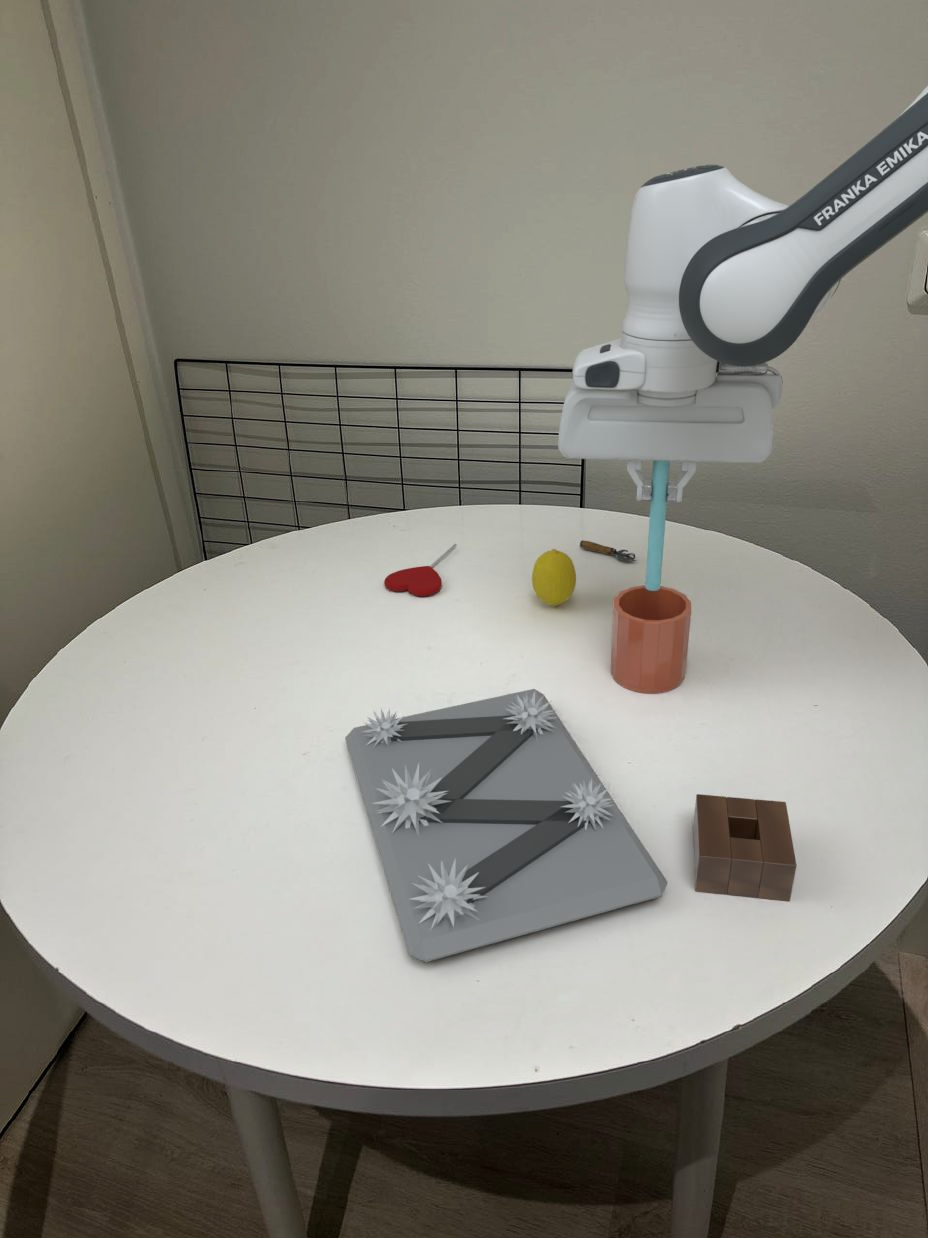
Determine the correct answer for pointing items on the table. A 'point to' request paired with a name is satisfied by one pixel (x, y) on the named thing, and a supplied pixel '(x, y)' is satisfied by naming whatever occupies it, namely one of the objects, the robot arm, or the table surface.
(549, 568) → the lemon
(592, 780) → the decorative plate
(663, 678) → the cup
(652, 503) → the straw
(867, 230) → the robot arm
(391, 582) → the lollipop
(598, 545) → the can opener
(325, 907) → the table surface
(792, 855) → the holder
